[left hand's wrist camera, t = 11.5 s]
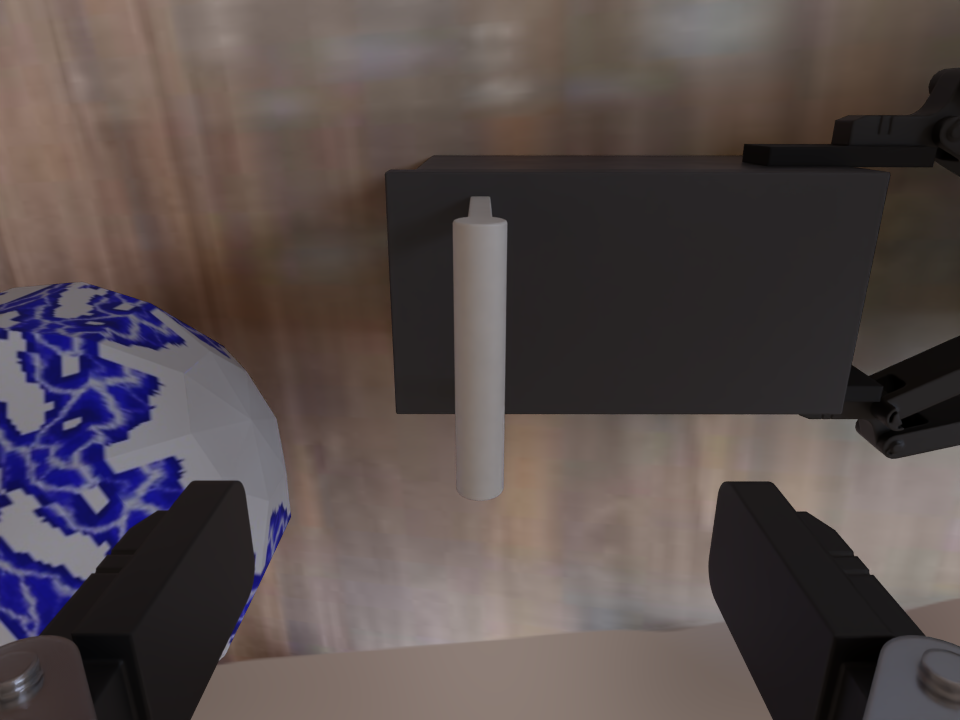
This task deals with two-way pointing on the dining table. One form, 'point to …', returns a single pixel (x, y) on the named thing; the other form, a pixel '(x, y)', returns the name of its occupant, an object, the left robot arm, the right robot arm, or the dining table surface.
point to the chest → (605, 163)
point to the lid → (623, 294)
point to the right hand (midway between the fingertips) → (739, 275)
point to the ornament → (115, 439)
